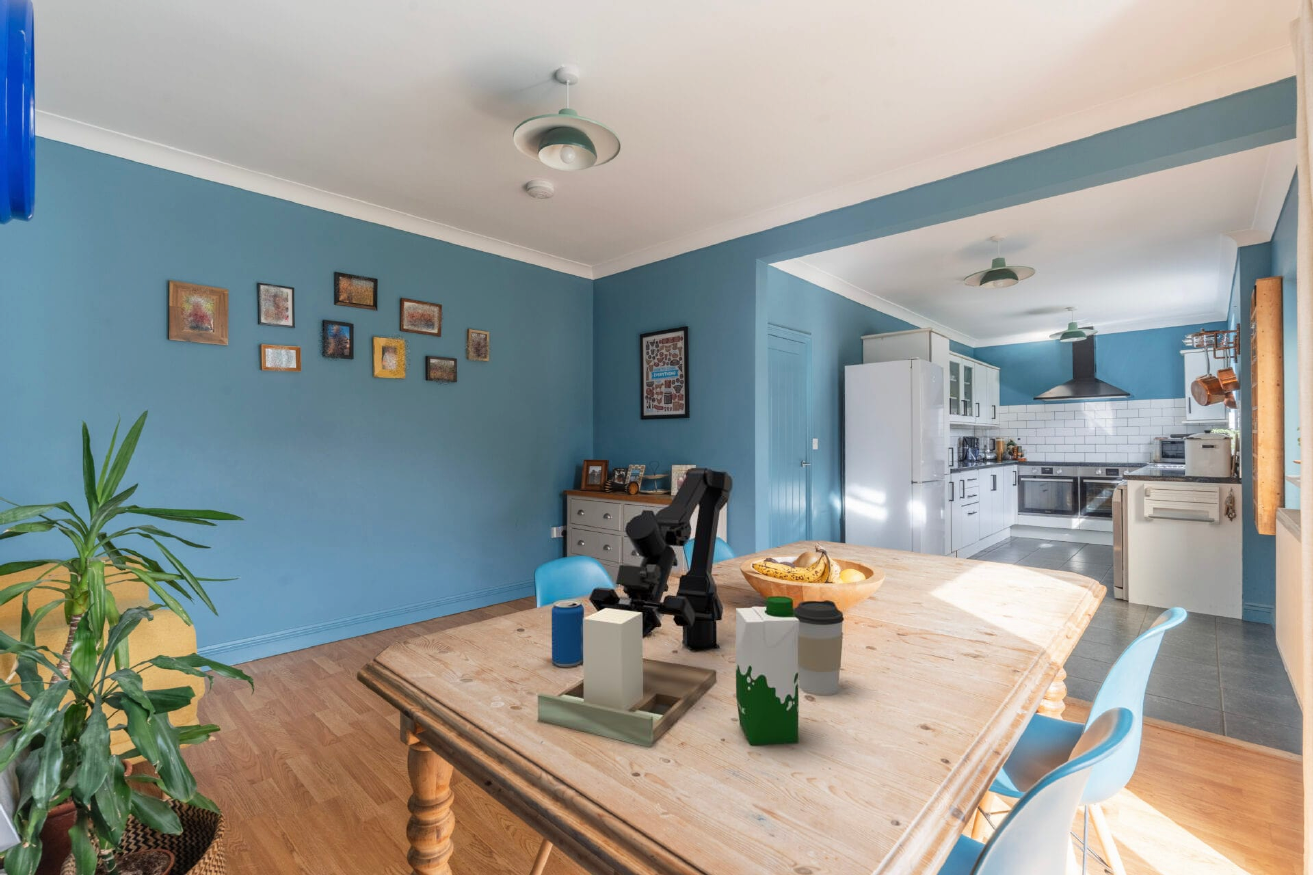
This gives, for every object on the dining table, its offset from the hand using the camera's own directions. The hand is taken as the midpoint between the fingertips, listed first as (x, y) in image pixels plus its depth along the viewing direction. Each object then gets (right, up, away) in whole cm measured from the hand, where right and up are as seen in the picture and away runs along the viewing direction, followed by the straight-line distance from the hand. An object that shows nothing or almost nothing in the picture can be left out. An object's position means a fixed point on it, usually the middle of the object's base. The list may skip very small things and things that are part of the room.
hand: (625, 651), depth 100 cm
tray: (+2, -9, +3) cm, 10 cm away
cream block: (-2, -7, -4) cm, 8 cm away
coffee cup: (+34, -9, +7) cm, 36 cm away
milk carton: (+22, -9, -10) cm, 26 cm away
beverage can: (-13, -10, +20) cm, 26 cm away
